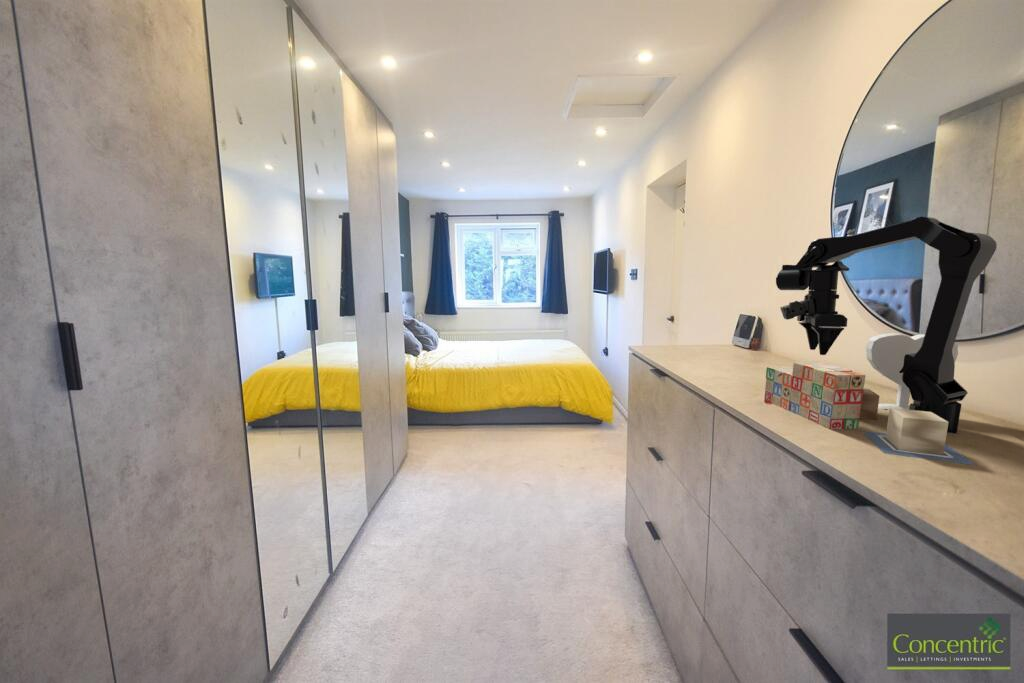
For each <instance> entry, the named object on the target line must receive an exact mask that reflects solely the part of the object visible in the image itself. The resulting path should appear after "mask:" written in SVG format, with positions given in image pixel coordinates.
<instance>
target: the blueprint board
mask: <svg viewBox="0 0 1024 683" xmlns="http://www.w3.org/2000/svg"><path fill="white" fill-rule="evenodd" d="M860 432H861V433H862V434H863V435H865V437H866V438H868V439H869V440H870V441H871V442H872V443H873V444H874V446H876V447H877V448H878V449H879V450H880V451H881V452H882V453H883V454H886V455H887V454H888V455H895V456H903V457H910V458H919V459H924V460H926V459H927V460H934V461H941V462H946V463H947V462H948V463H955V464H962V465H963V464H964V465H970V466H977V464H976V463H974V462H973V461H971V460H970V459H968V458H967V457H966V456H965V455H963V454H962V453H960V452H958V451H957V450H955V449H954V448H953V447H951V446H949V445H948V444H946V443H945V447H944V454H943V455H938V454H930V453H922V452H915V451H907V450H899V449H898V448H897V447H895V446H894V445H893V444H892V443H891V442H890V441H888V440H887V439H886V432H885V433H884V432H874V431H867V430H860Z"/></svg>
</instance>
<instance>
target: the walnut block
mask: <svg viewBox="0 0 1024 683" xmlns="http://www.w3.org/2000/svg"><path fill="white" fill-rule="evenodd" d="M863 390H864V391H863V397H862V403H861V409H860V416H859V419H868V420H877V419H878V418H877V417H878V410H879V409H878V404H879V403H880V402H879V401H880V395H879V394H877V393H876V392H874V390H871V389H869V388H863Z"/></svg>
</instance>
